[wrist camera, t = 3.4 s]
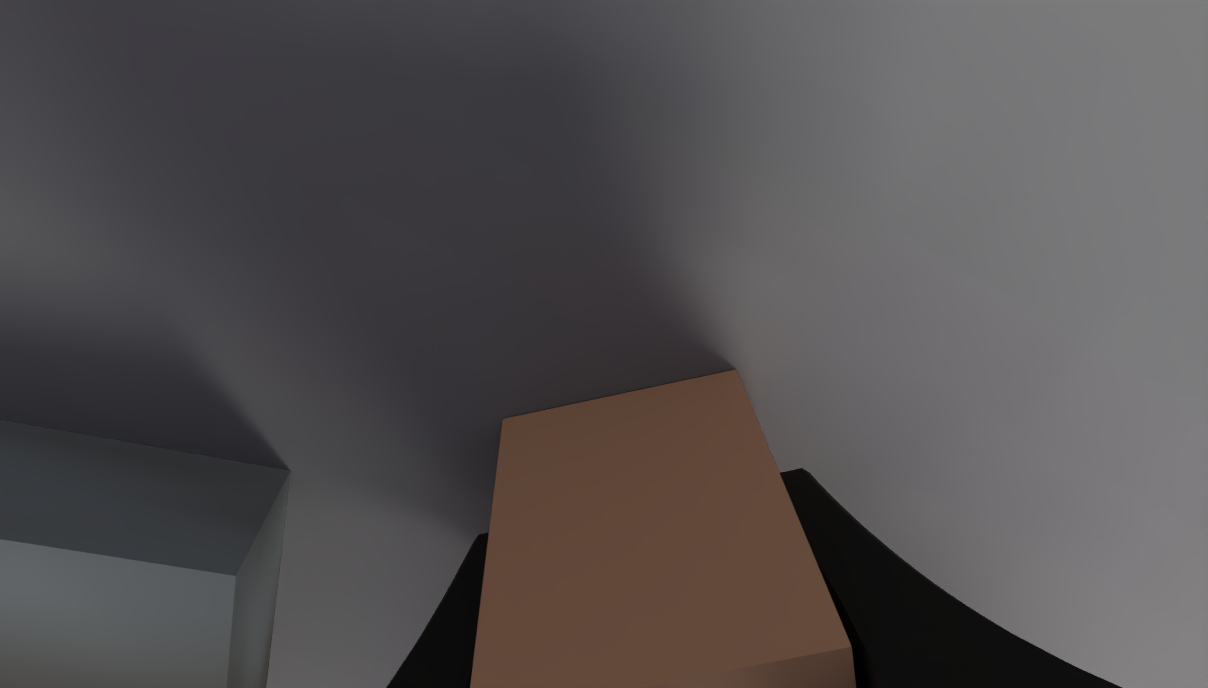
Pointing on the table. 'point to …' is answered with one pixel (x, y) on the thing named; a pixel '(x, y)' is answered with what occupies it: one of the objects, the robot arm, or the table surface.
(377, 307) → the table surface
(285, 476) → the slate slab
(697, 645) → the terracotta block
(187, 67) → the table surface
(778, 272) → the table surface
